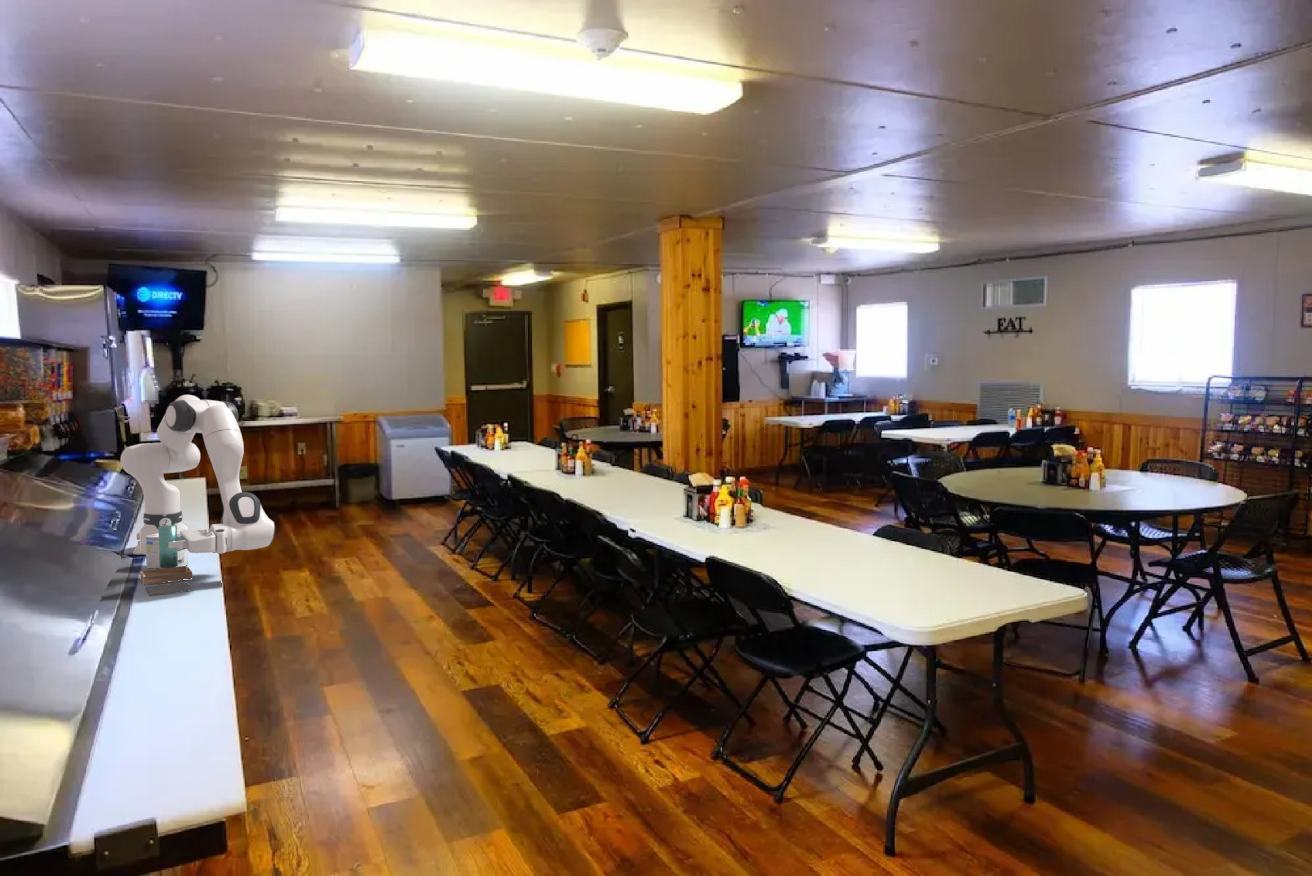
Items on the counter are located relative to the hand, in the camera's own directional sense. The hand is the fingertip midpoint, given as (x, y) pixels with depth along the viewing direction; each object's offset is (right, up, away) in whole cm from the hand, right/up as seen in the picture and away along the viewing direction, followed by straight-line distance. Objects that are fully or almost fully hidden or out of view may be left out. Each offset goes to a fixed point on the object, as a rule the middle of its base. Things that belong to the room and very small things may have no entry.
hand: (166, 543), depth 255 cm
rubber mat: (0, -14, +1) cm, 14 cm away
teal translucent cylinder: (0, -7, +1) cm, 7 cm away
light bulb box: (-16, -12, +29) cm, 35 cm away
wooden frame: (-8, -13, +13) cm, 20 cm away
